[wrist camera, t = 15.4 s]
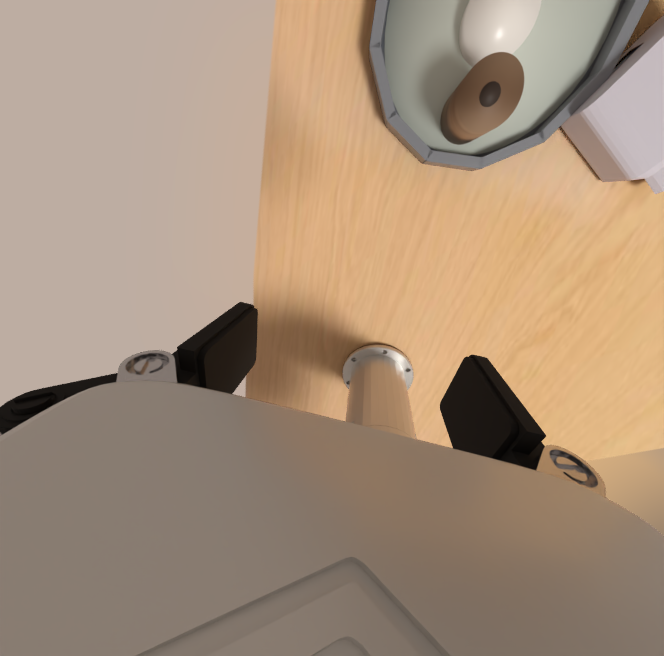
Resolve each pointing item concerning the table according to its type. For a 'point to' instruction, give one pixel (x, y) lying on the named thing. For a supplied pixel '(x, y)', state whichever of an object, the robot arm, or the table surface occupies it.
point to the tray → (480, 41)
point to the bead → (483, 98)
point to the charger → (626, 116)
